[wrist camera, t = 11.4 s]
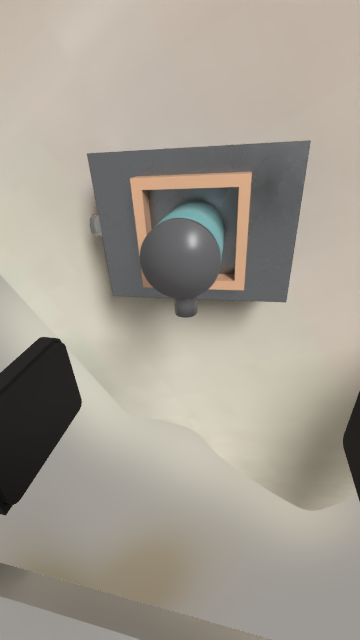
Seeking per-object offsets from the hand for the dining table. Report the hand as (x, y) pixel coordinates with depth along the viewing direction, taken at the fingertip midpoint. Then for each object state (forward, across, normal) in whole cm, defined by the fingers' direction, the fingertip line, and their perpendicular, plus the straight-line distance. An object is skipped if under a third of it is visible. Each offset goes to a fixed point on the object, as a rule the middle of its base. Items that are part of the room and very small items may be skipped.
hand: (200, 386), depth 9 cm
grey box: (+23, +3, -1) cm, 23 cm away
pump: (+17, +3, -1) cm, 17 cm away
